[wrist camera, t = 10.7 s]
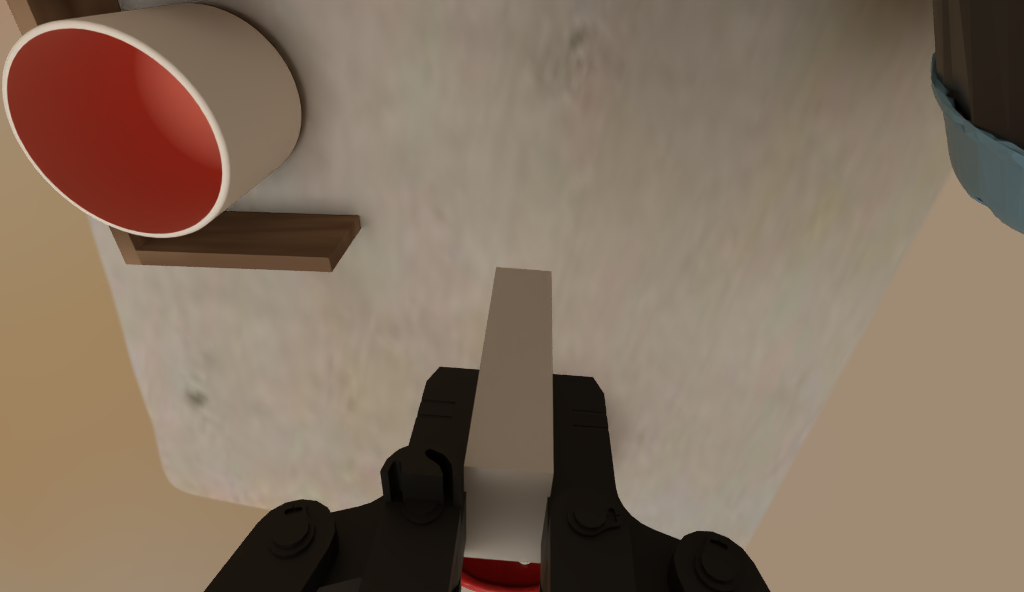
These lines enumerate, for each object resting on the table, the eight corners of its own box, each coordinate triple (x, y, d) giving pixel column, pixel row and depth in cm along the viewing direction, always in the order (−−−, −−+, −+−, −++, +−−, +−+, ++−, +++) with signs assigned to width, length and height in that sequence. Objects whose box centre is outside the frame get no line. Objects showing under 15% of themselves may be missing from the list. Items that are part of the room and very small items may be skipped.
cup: (110, 18, 30) (-54, 44, 22) (268, -15, 29) (156, -2, 21) (195, 181, 36) (89, 250, 27) (332, 159, 34) (263, 225, 26)
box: (67, -88, 28) (-38, -97, 23) (309, -86, 27) (255, -94, 22) (182, 222, 38) (126, 264, 33) (360, 228, 37) (331, 271, 32)
